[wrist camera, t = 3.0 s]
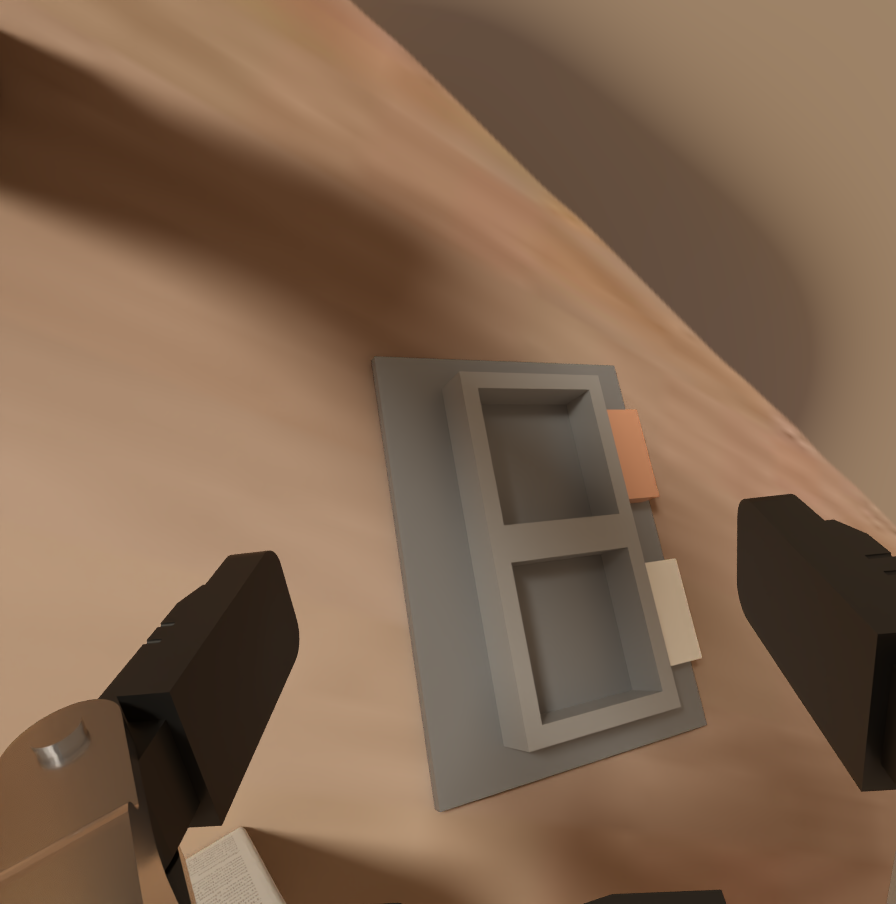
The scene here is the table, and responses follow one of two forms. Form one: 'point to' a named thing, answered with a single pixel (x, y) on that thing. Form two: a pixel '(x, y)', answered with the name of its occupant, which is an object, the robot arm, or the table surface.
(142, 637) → the table surface
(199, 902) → the skincare box
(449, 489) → the tray
